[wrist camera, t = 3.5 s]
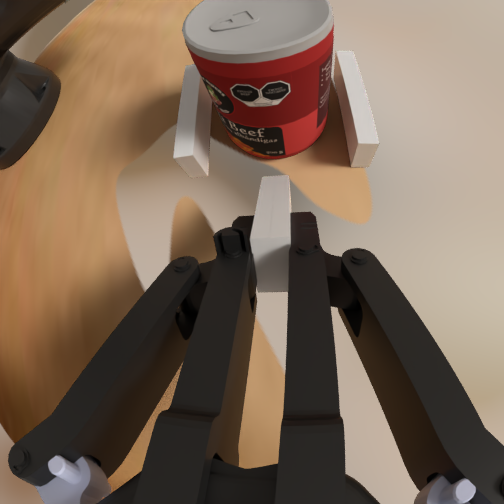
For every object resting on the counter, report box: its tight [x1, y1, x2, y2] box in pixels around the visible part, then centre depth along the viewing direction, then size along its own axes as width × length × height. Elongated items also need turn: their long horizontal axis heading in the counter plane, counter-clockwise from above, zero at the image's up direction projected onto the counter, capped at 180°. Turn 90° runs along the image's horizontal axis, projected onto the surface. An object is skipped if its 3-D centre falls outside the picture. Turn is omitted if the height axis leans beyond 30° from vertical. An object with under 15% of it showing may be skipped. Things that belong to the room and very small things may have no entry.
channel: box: [173, 50, 379, 178], centre depth 20 cm, size 9×13×4 cm
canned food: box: [182, 0, 334, 159], centre depth 17 cm, size 8×8×11 cm
